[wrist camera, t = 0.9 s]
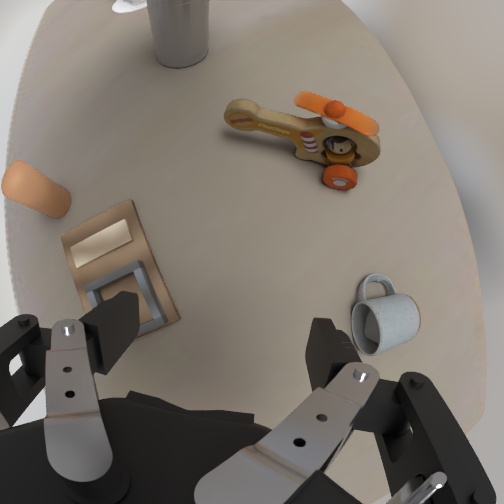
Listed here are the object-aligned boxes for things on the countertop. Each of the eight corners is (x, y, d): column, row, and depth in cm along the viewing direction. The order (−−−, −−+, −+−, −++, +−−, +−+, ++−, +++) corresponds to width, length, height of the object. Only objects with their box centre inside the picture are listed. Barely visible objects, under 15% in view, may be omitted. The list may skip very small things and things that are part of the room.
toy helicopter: (353, 195, 39) (406, 161, 26) (216, 158, 37) (217, 100, 24) (357, 149, 40) (403, 106, 27) (230, 112, 38) (237, 49, 25)
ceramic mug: (396, 335, 38) (427, 342, 30) (353, 350, 37) (380, 362, 29) (389, 269, 39) (420, 266, 31) (344, 279, 38) (371, 278, 30)
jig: (64, 237, 33) (52, 233, 30) (133, 201, 35) (125, 193, 32) (106, 349, 33) (96, 355, 29) (180, 318, 34) (176, 322, 31)
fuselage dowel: (45, 197, 33) (0, 172, 22) (67, 183, 34) (25, 152, 22) (51, 223, 33) (2, 204, 21) (73, 209, 34) (28, 185, 22)
